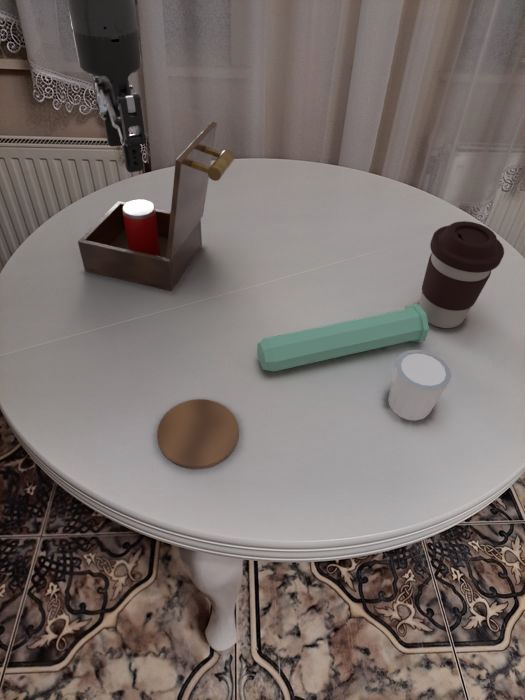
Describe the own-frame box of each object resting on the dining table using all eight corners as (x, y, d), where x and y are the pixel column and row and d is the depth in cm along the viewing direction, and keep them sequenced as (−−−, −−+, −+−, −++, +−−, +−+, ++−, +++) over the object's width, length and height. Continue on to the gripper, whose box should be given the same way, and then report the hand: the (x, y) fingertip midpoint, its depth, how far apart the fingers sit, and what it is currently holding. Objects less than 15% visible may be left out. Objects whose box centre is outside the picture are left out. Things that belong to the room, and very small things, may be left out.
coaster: (154, 470, 59) (153, 467, 59) (160, 402, 66) (160, 399, 66) (240, 467, 60) (240, 464, 60) (237, 401, 67) (237, 398, 67)
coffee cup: (480, 310, 83) (517, 230, 72) (459, 344, 77) (497, 263, 66) (422, 286, 86) (450, 207, 76) (399, 318, 80) (425, 236, 70)
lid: (175, 159, 66) (213, 173, 66) (212, 121, 75) (245, 133, 75) (166, 258, 78) (198, 270, 78) (198, 214, 87) (227, 225, 87)
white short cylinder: (445, 412, 68) (463, 377, 63) (406, 432, 65) (421, 397, 60) (411, 377, 72) (424, 342, 67) (373, 395, 69) (384, 360, 64)
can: (128, 263, 86) (119, 215, 79) (131, 245, 89) (124, 199, 83) (159, 263, 86) (153, 216, 80) (161, 245, 90) (156, 199, 83)
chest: (84, 271, 85) (77, 241, 81) (123, 229, 94) (118, 200, 90) (171, 291, 82) (168, 261, 78) (202, 246, 92) (200, 217, 87)
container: (262, 345, 66) (430, 310, 72) (249, 330, 71) (407, 298, 77) (266, 385, 68) (428, 348, 74) (253, 367, 74) (406, 334, 79)
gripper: (58, 12, 63) (85, 141, 75) (88, 44, 54) (113, 185, 66) (117, 7, 66) (134, 133, 77) (155, 38, 57) (168, 174, 69)
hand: (125, 157), depth 72 cm, fingers open, 8 cm apart
